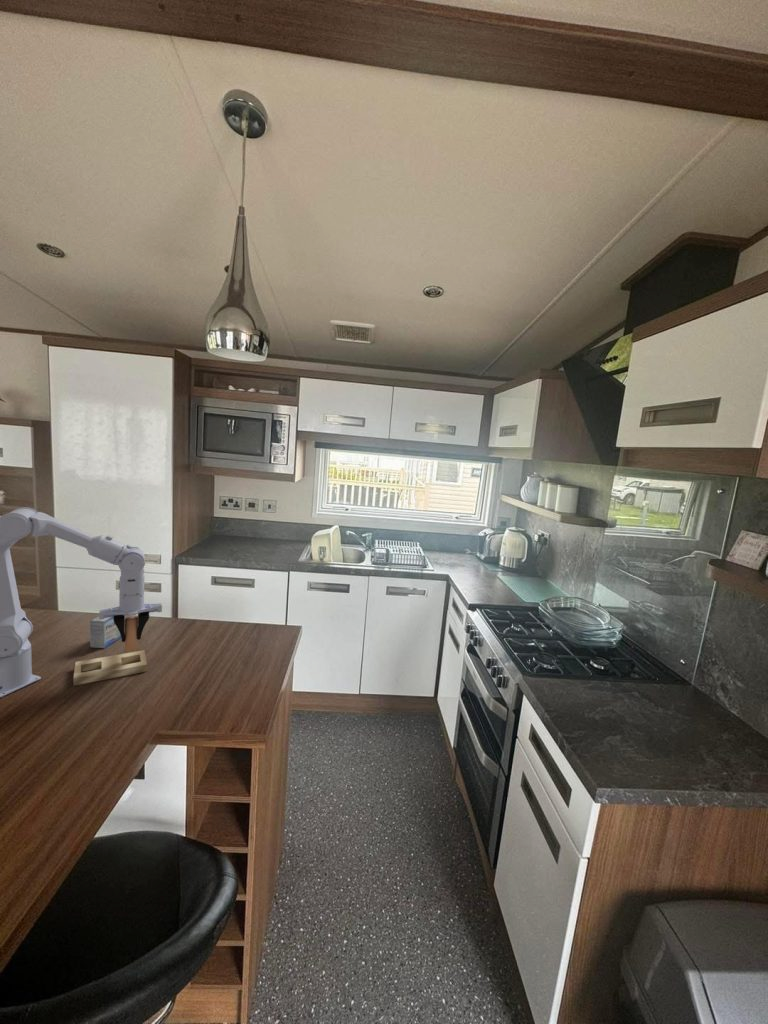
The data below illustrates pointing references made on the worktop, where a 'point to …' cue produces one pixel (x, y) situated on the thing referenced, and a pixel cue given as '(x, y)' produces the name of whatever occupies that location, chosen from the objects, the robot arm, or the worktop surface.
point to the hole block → (109, 667)
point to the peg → (131, 633)
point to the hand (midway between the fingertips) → (131, 639)
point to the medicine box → (103, 632)
